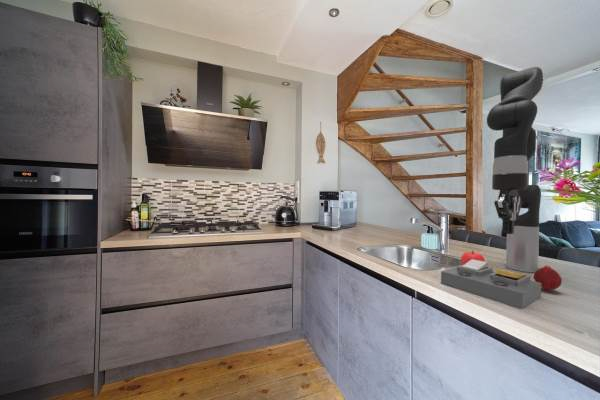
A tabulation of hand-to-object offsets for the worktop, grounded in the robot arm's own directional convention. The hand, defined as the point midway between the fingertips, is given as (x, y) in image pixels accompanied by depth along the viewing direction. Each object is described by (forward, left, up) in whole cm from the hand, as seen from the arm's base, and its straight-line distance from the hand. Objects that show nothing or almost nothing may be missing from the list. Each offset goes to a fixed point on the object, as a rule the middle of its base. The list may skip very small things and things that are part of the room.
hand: (507, 233), depth 67 cm
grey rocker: (-3, -9, -12) cm, 15 cm away
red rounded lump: (-15, +5, -18) cm, 24 cm away
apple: (-16, -15, -18) cm, 29 cm away
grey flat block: (0, -5, -18) cm, 18 cm away
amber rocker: (-3, 0, -12) cm, 12 cm away
